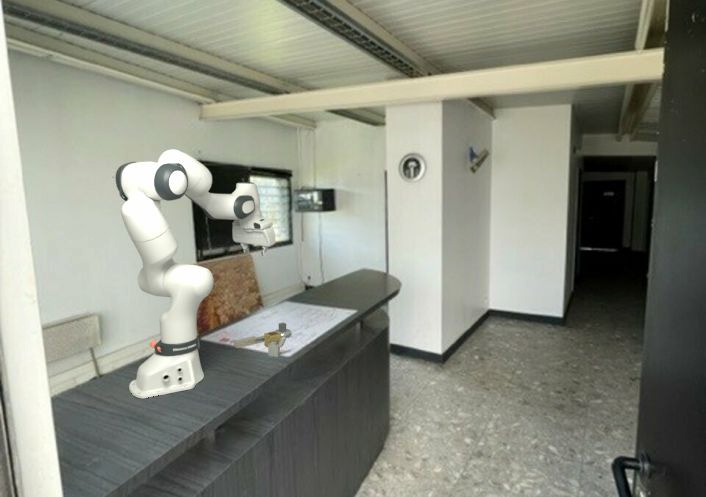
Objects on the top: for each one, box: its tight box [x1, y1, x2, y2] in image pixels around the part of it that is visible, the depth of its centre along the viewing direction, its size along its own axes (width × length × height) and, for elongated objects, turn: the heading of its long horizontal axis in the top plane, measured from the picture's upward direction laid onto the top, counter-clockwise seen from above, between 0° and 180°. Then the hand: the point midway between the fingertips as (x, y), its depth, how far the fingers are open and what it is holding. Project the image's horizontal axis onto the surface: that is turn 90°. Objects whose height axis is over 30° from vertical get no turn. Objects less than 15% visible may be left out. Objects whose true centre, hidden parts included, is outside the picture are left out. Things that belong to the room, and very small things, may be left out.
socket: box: [263, 330, 281, 348], centre depth 174 cm, size 5×5×5 cm
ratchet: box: [233, 322, 292, 349], centre depth 180 cm, size 25×7×6 cm, turn 129°
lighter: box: [267, 336, 287, 358], centre depth 163 cm, size 7×2×8 cm, turn 74°
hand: (255, 254), depth 177 cm, fingers open, 8 cm apart
